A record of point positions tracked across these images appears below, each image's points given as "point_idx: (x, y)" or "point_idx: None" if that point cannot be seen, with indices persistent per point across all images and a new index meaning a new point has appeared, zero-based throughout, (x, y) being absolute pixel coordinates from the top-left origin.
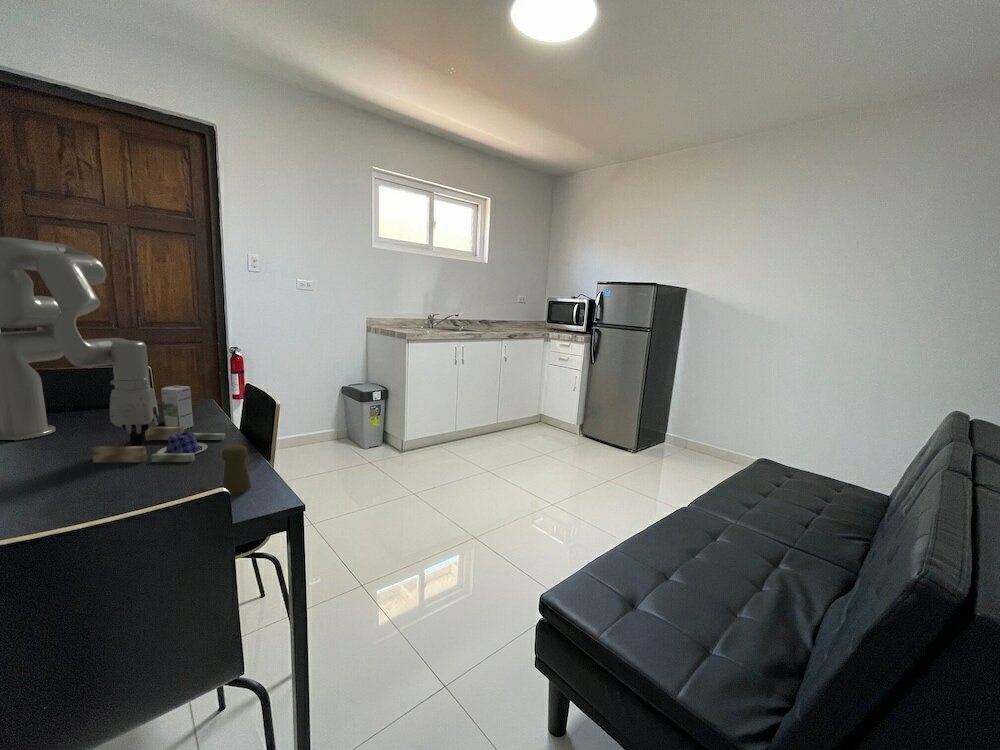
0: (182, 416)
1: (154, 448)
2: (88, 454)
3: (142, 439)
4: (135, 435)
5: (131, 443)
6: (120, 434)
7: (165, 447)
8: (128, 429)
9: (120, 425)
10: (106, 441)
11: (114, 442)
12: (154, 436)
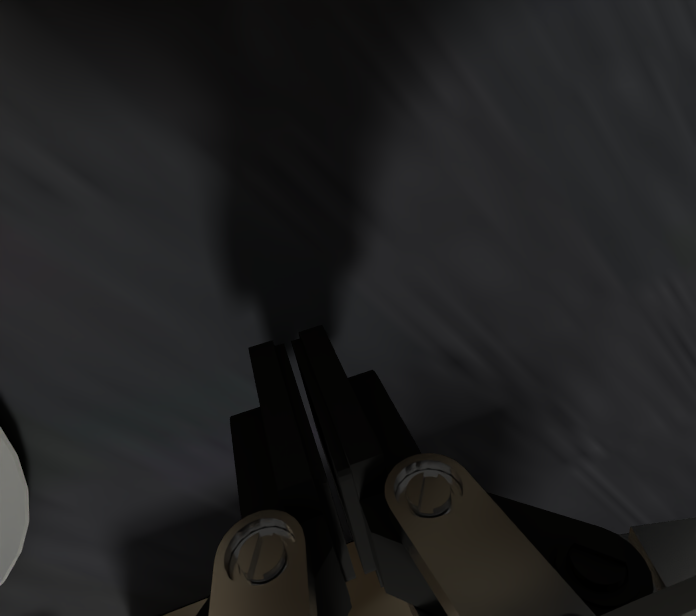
0: None
1: (166, 431)
2: (666, 104)
3: (239, 459)
4: (295, 464)
5: (332, 349)
6: (664, 505)
7: (15, 478)
8: (461, 528)
9: (678, 557)
10: (682, 396)
11: (621, 403)
12: (371, 575)
